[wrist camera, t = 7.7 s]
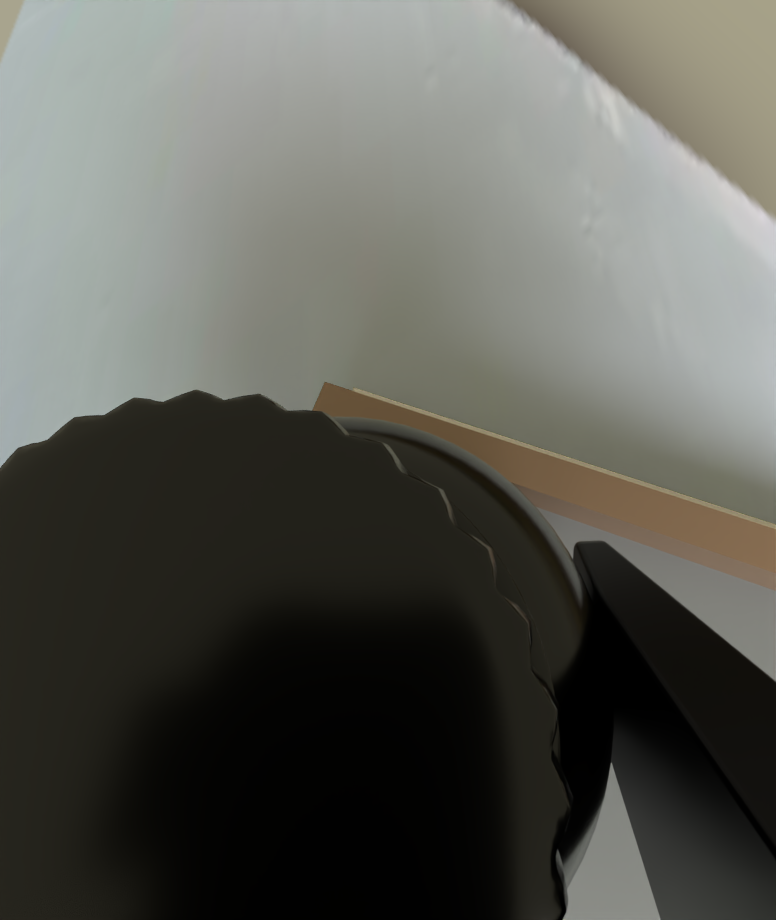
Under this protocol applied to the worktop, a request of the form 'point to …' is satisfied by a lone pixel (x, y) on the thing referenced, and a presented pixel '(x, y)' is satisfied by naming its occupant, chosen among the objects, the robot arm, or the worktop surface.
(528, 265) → the worktop surface
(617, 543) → the shelf board
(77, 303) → the worktop surface
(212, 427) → the supplement bottle
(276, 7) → the worktop surface
